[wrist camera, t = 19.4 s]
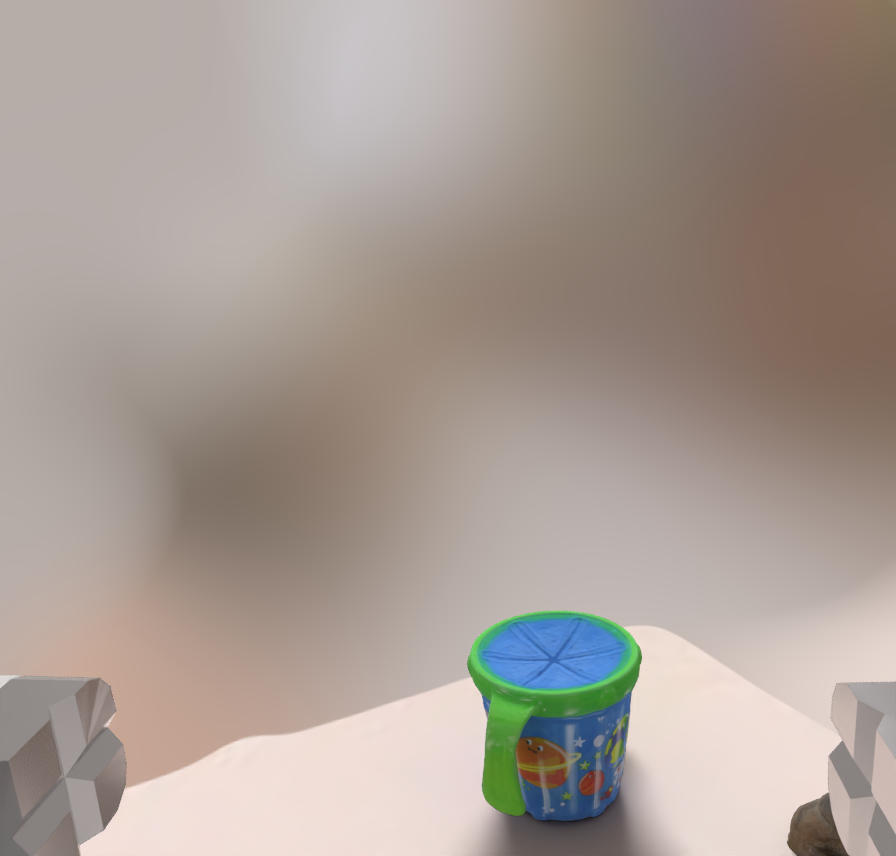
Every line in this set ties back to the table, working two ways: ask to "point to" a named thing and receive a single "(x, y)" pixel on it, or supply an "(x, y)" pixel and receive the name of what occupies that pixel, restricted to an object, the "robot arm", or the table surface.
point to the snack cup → (554, 712)
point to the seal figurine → (815, 830)
